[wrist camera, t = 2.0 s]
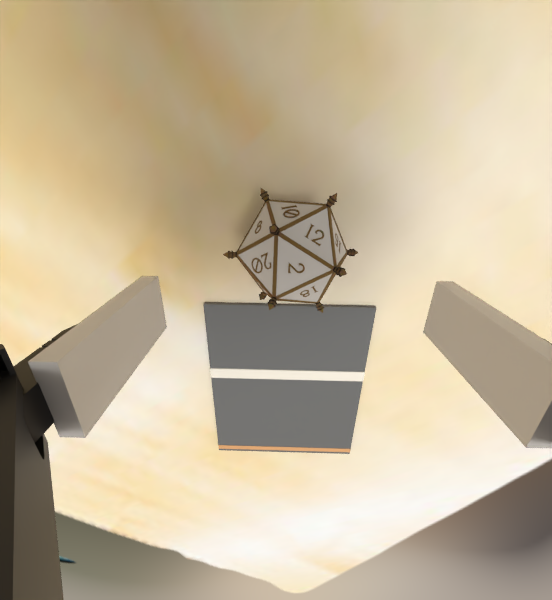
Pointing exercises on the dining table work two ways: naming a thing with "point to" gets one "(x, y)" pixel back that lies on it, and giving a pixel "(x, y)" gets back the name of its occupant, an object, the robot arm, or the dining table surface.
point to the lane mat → (287, 374)
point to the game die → (293, 250)
